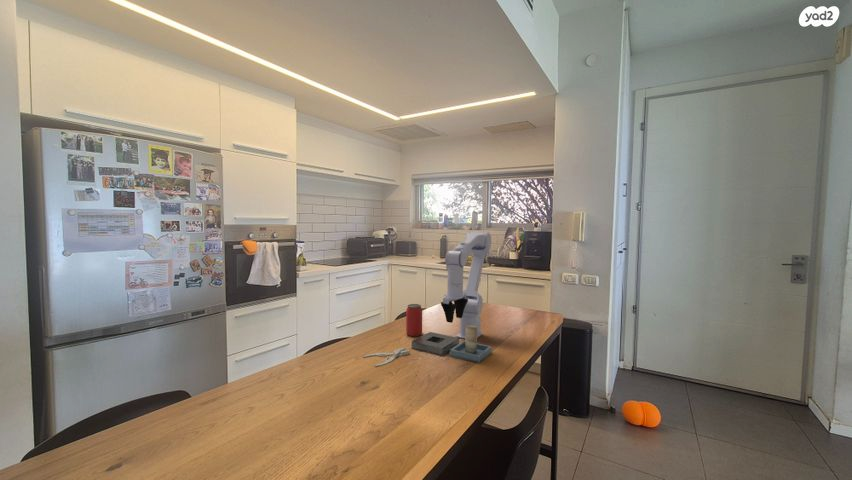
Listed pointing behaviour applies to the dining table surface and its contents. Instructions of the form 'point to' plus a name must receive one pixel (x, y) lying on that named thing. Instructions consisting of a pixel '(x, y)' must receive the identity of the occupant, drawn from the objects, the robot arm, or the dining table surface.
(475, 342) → the birch peg
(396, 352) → the pliers
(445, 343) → the hitch block
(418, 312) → the beer can
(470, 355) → the slate tray
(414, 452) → the dining table surface
